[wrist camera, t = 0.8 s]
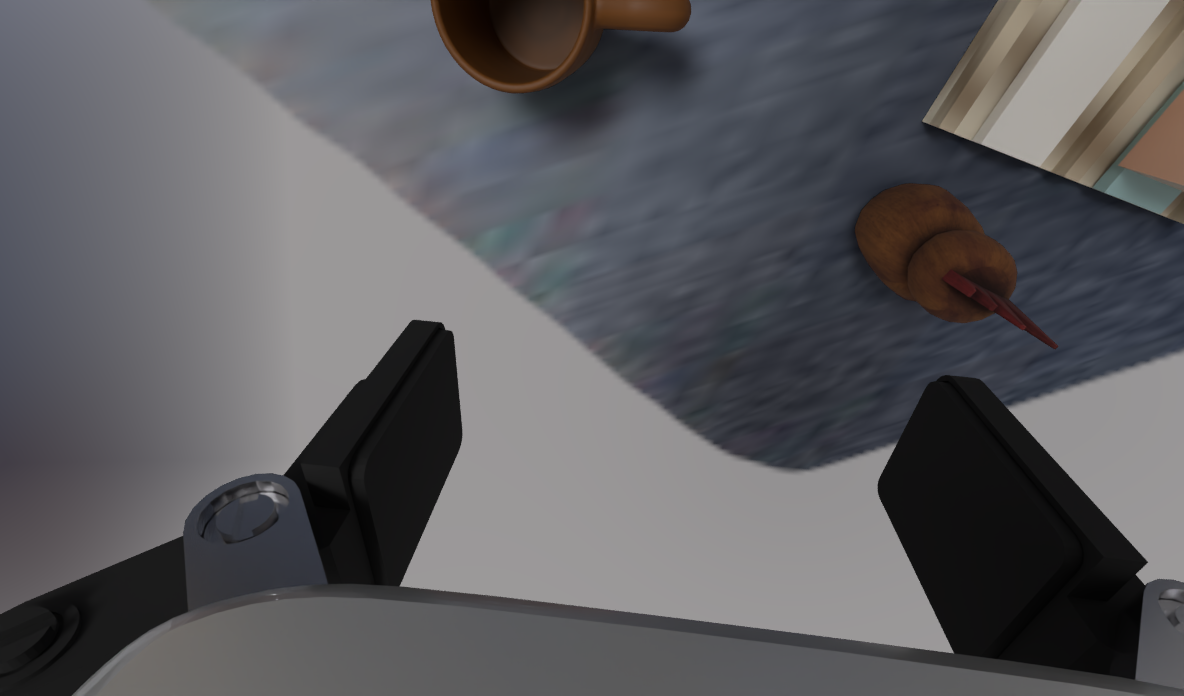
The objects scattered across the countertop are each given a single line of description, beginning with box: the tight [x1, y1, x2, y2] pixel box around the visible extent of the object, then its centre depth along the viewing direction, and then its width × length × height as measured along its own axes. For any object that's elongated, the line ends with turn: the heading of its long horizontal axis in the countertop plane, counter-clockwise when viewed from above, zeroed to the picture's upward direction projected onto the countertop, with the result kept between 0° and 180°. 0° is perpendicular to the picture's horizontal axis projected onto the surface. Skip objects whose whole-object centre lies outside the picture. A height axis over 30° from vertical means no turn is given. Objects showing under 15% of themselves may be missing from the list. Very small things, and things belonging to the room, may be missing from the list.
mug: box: [431, 0, 691, 93], centre depth 27 cm, size 12×8×9 cm, turn 88°
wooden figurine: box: [855, 183, 1058, 349], centre depth 30 cm, size 7×6×15 cm
